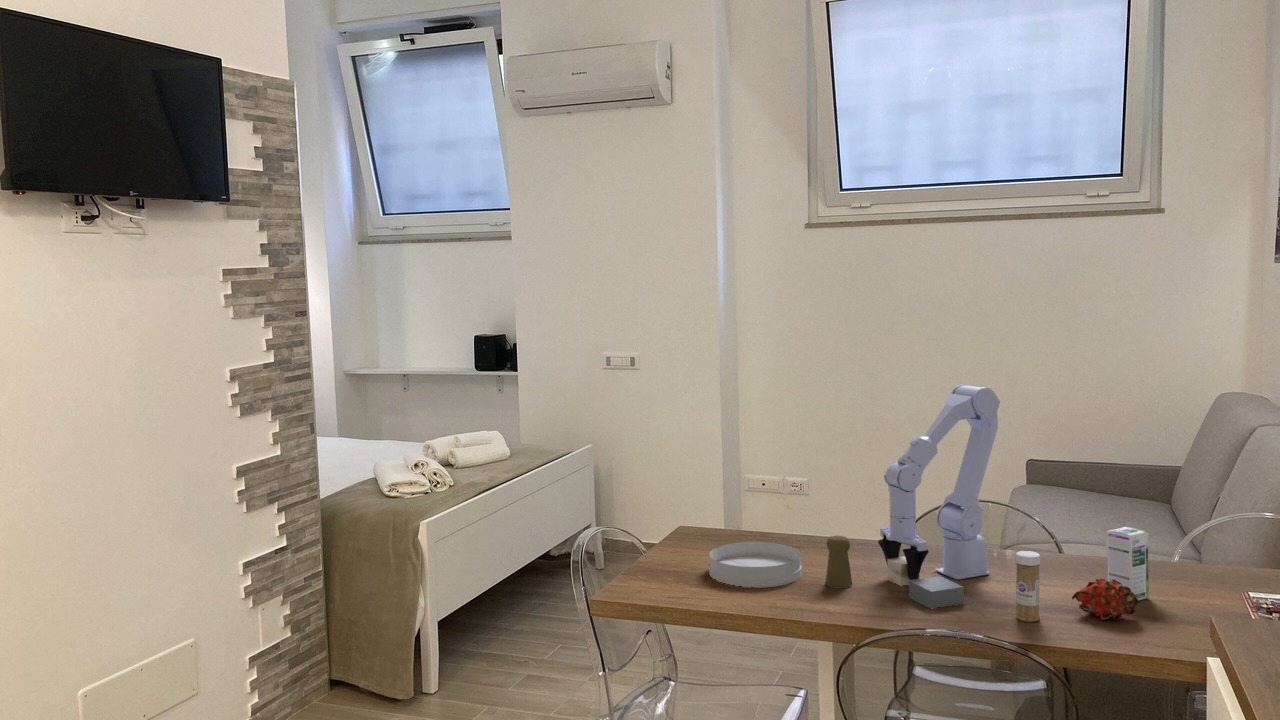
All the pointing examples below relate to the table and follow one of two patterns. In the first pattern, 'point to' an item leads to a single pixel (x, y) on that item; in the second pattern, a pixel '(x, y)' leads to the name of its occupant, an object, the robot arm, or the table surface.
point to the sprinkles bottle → (1027, 586)
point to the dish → (755, 564)
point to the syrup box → (1129, 559)
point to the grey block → (936, 592)
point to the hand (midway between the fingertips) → (903, 574)
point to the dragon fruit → (1106, 599)
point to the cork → (838, 563)
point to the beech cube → (898, 571)
